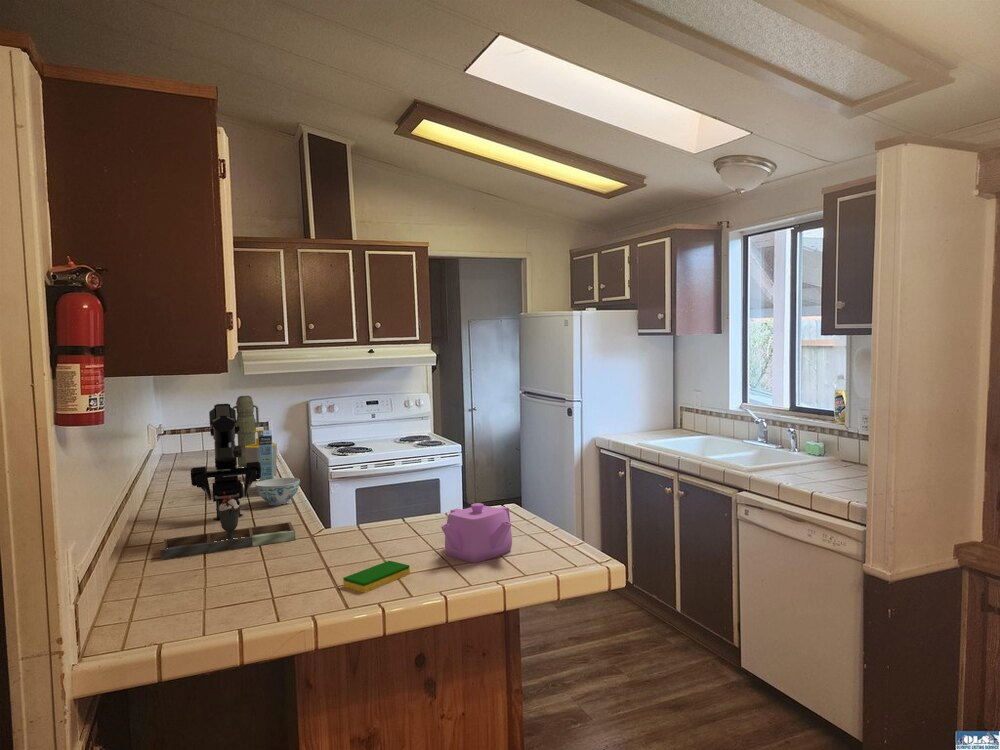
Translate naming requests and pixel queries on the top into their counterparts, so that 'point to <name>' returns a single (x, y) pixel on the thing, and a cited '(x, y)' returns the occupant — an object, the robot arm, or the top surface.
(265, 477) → the blue flat box
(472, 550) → the teakettle
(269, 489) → the chinaware
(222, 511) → the sundae
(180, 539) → the tray
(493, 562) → the top surface
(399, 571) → the dish sponge
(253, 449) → the soap bottle
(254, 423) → the thermos
